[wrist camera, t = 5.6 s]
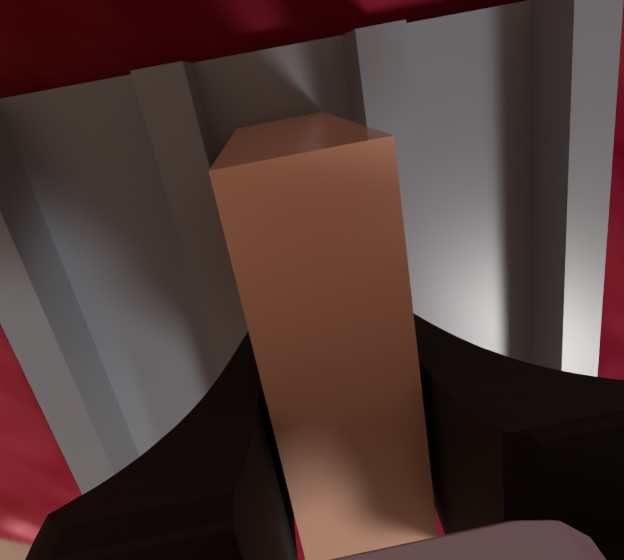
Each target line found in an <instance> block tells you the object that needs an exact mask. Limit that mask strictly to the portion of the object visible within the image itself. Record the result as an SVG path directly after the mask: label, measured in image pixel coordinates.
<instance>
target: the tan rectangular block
mask: <svg viewBox="0 0 624 560" xmlns="http://www.w3.org/2000/svg"><path fill="white" fill-rule="evenodd" d="M209 175H210V179H211V183H212V187H213V191H214V195H215V199H216V203H217V207H218V211H219V215H220V219H221V223H222V227H223V231H224V235H225V239H226V243H227V247H228V251H229V255H230V259H231V263H232V267H233V271H234V275H235V279H236V283H237V287H238V291H239V295H240V299H241V303H242V307H243V311H244V315H245V319H246V323H247V327H248V331H249V335H250V339H251V343H252V347H253V351H254V355H255V359H256V363H257V367H258V371H259V375H260V379H261V383H262V387H263V391H264V395H265V399H266V403H267V407H268V411H269V415H270V419H271V423H272V427H273V431H274V435H275V439H276V443H277V447H278V451H279V455H280V459H281V463H282V467H283V472H284V476H285V480H286V484H287V488H288V492H289V496H290V500H291V504H292V508H293V512H294V516H295V520H296V524H297V528H298V532H299V536H300V540H301V544H302V548H303V552H304V556H305V560H330V559H335V558H339V557H344V556H349V555H353V554H358V553H363V552H367V551H372V550H377V549H381V548H386V547H391V546H395V545H400V544H405V543H409V542H414V541H419V540H423V539H428V538H433V537H437V536H438V532H437V523H436V514H435V505H434V496H433V487H432V478H431V469H430V460H429V450H428V441H427V432H426V423H425V414H424V405H423V396H422V387H421V377H420V368H419V359H418V350H417V341H416V332H415V323H414V314H413V305H412V295H411V286H410V277H409V268H408V259H407V250H406V241H405V232H404V223H403V213H402V204H401V195H400V186H399V177H398V168H397V159H396V150H395V141H394V135H391V134H388V133H385V132H382V131H379V130H376V129H373V128H370V127H367V126H364V125H361V124H358V123H355V122H352V121H349V120H346V119H343V118H340V117H337V116H334V115H331V114H328V113H325V112H318V113H313V114H307V115H302V116H297V117H292V118H286V119H281V120H276V121H270V122H265V123H260V124H255V125H249V126H244V127H239V128H237V129H236V130H235V132H234V133H233V135H232V136H231V138H230V139H229V141H228V142H227V144H226V145H225V147H224V148H223V150H222V151H221V153H220V154H219V156H218V157H217V159H216V160H215V162H214V163H213V165H212V166H211V168H210V169H209Z"/></svg>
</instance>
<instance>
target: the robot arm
mask: <svg viewBox="0 0 624 560" xmlns="http://www.w3.org/2000/svg"><path fill="white" fill-rule="evenodd" d="M413 314H414V313H413ZM414 323H415V332H416V341H417V350H418V359H419V368H420V377H421V387H422V396H423V405H424V414H425V423H426V432H427V441H428V450H429V460H430V469H431V478H432V487H433V496H434V505H435V508H436V511H437V513H438V516H439V519H440V522H441V524H442V527H443V530H444V533H445V535H442V536H437V537H433V538H428V539H423V540H419V541H414V542H409V543H405V544H400V545H395V546H391V547H386V548H381V549H377V550H372V551H367V552H363V553H358V554H353V555H349V556H344V557H339V558H335V559H330V560H624V380H617V379H608V378H601V377H595V376H589V375H582V374H576V373H571V372H566V371H561V370H556V369H551V368H547V367H543V366H539V365H535V364H531V363H527V362H524V361H520V360H517V359H513V358H510V357H507V356H504V355H501V354H499V353H496V352H493V351H490V350H487V349H484V348H482V347H479V346H477V345H474V344H472V343H470V342H468V341H466V340H463V339H461V338H459V337H457V336H455V335H453V334H451V333H449V332H447V331H445V330H443V329H441V328H439V327H437V326H435V325H433V324H431V323H430V322H428V321H426V320H424V319H423V318H421V317H419V316H417V315H416V314H414ZM25 560H298V558H297V548H296V539H295V529H294V512H293V508H292V504H291V500H290V496H289V492H288V488H287V484H286V480H285V476H284V472H283V467H282V463H281V459H280V455H279V451H278V447H277V443H276V439H275V435H274V431H273V427H272V423H271V419H270V415H269V411H268V407H267V403H266V399H265V395H264V391H263V387H262V383H261V379H260V375H259V371H258V367H257V363H256V359H255V355H254V351H253V347H252V343H251V339H250V335H249V331H248V332H247V334H246V335H245V336H244V338H243V340H242V341H241V343H240V344H239V346H238V348H237V349H236V351H235V353H234V354H233V356H232V358H231V359H230V361H229V362H228V364H227V365H226V367H225V368H224V370H223V371H222V373H221V374H220V376H219V377H218V378H217V380H216V381H215V382H214V384H213V385H212V386H211V388H210V389H209V390H208V392H207V393H206V394H205V395H204V397H203V398H202V399H201V400H200V401H199V402H198V404H197V405H196V406H195V407H194V408H193V409H192V410H191V411H190V412H189V413H188V414H187V415H186V416H185V417H184V418H183V419H182V420H181V421H180V422H179V423H178V424H177V425H176V426H175V427H174V428H173V429H172V430H171V431H170V432H168V433H167V434H166V435H165V436H164V437H163V438H161V439H160V440H159V441H158V442H157V443H156V444H154V445H153V446H152V447H151V448H150V449H149V450H147V451H146V452H145V453H144V454H142V455H141V456H140V457H138V458H137V459H136V460H134V461H133V462H132V463H130V464H129V465H128V466H126V467H125V468H123V469H122V470H120V471H119V472H118V473H116V474H115V475H113V476H112V477H110V478H109V479H107V480H106V481H104V482H103V483H101V484H100V485H98V486H96V487H95V488H93V489H91V490H90V491H88V492H86V493H85V494H83V495H81V496H79V497H78V498H76V499H74V500H73V501H71V502H69V503H68V504H66V505H64V506H63V507H61V508H59V509H57V510H55V511H54V512H52V513H50V514H48V516H47V518H46V519H45V521H44V523H43V525H42V527H41V529H40V531H39V532H38V534H37V536H36V538H35V540H34V542H33V544H32V546H31V548H30V551H29V553H28V555H27V557H26V559H25Z"/></svg>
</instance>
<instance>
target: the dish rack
mask: <svg viewBox="0 0 624 560" xmlns="http://www.w3.org/2000/svg"><path fill="white" fill-rule="evenodd" d="M622 13H623V0H528V1H522V2H517V3H512V4H506V5H501V6H495V7H490V8H485V9H479V10H474V11H469V12H463V13H458V14H452V15H447V16H442V17H436V18H431V19H426V20H420V21H415V22H409V23H406V20H400V21H395V22H389V23H384V24H379V25H373V26H368V27H362V28H357V29H354V30H352V31H349V32H347V33H345V34H343V35H339V36H334V37H329V38H323V39H318V40H313V41H307V42H302V43H296V44H291V45H286V46H280V47H275V48H270V49H264V50H259V51H253V52H248V53H243V54H237V55H232V56H227V57H221V58H216V59H210V60H205V61H200V62H194V63H192V62H186V61H179V62H174V63H169V64H163V65H158V66H153V67H147V68H142V69H136V70H131V71H130V72H131V74H130V75H124V76H119V77H114V78H108V79H103V80H97V81H92V82H87V83H81V84H76V85H71V86H65V87H60V88H54V89H49V90H44V91H38V92H33V93H28V94H22V95H17V96H11V97H6V98H1V99H0V323H1V326H2V328H3V330H4V332H5V334H6V336H7V338H8V340H9V342H10V344H11V346H12V349H13V351H14V353H15V355H16V357H17V359H18V361H19V363H20V365H21V367H22V369H23V371H24V374H25V376H26V378H27V380H28V382H29V384H30V386H31V388H32V390H33V392H34V394H35V397H36V399H37V401H38V403H39V405H40V407H41V409H42V411H43V413H44V415H45V417H46V420H47V422H48V424H49V426H50V428H51V430H52V432H53V434H54V436H55V438H56V440H57V442H58V445H59V447H60V449H61V451H62V453H63V455H64V457H65V459H66V461H67V463H68V465H69V468H70V470H71V472H72V474H73V476H74V478H75V480H76V482H77V484H78V486H79V488H80V491H81V493H82V495H83V494H85V493H86V492H88V491H90V490H91V489H93V488H95V487H96V486H98V485H100V484H101V483H103V482H104V481H106V480H107V479H109V478H110V477H112V476H113V475H115V474H116V473H118V472H119V471H120V470H122V469H123V468H125V467H126V466H128V465H129V464H130V463H132V462H133V461H134V460H136V459H137V458H138V457H140V456H141V455H142V454H144V453H145V452H146V451H147V450H149V449H150V448H151V447H152V446H153V445H154V444H156V443H157V442H158V441H159V440H160V439H161V438H163V437H164V436H165V435H166V434H167V433H168V432H170V431H171V430H172V429H173V428H174V427H175V426H176V425H177V424H178V423H179V422H180V421H181V420H182V419H183V418H184V417H185V416H186V415H187V414H188V413H189V412H190V411H191V410H192V409H193V408H194V407H195V406H196V405H197V404H198V402H199V401H200V400H201V399H202V398H203V397H204V395H205V394H206V393H207V392H208V390H209V389H210V388H211V386H212V385H213V384H214V382H215V381H216V380H217V378H218V377H219V376H220V374H221V373H222V371H223V370H224V368H225V367H226V365H227V364H228V362H229V361H230V359H231V358H232V356H233V354H234V353H235V351H236V349H237V348H238V346H239V344H240V343H241V341H242V340H243V338H244V336H245V335H246V334H247V332H248V327H247V323H246V319H245V315H244V311H243V307H242V303H241V299H240V295H239V291H238V287H237V283H236V279H235V275H234V271H233V267H232V263H231V259H230V255H229V251H228V247H227V243H226V239H225V235H224V231H223V227H222V223H221V219H220V215H219V211H218V207H217V203H216V199H215V195H214V191H213V187H212V183H211V179H210V175H209V169H210V168H211V166H212V165H213V163H214V162H215V160H216V159H217V157H218V156H219V154H220V153H221V151H222V150H223V148H224V147H225V145H226V144H227V142H228V141H229V139H230V138H231V136H232V135H233V133H234V132H235V130H236V129H237V128H239V127H244V126H249V125H255V124H260V123H265V122H270V121H276V120H281V119H286V118H292V117H297V116H302V115H307V114H313V113H318V112H325V113H328V114H331V115H334V116H337V117H340V118H343V119H346V120H349V121H352V122H355V123H358V124H361V125H364V126H367V127H370V128H373V129H376V130H379V131H382V132H385V133H388V134H391V135H394V141H395V150H396V159H397V168H398V177H399V186H400V195H401V204H402V213H403V223H404V232H405V241H406V250H407V259H408V268H409V277H410V286H411V295H412V305H413V313H414V314H416V315H417V316H419V317H421V318H423V319H424V320H426V321H428V322H430V323H431V324H433V325H435V326H437V327H439V328H441V329H443V330H445V331H447V332H449V333H451V334H453V335H455V336H457V337H459V338H461V339H463V340H466V341H468V342H470V343H472V344H474V345H477V346H479V347H482V348H484V349H487V350H490V351H493V352H496V353H499V354H501V355H504V356H507V357H510V358H513V359H517V360H520V361H524V362H527V363H531V364H535V365H539V366H543V367H547V368H551V369H556V370H561V371H566V372H571V373H576V374H582V375H589V376H595V377H597V374H598V360H599V346H600V331H601V317H602V302H603V288H604V273H605V259H606V245H607V230H608V216H609V201H610V187H611V172H612V158H613V143H614V129H615V115H616V100H617V86H618V71H619V57H620V42H621V28H622Z"/></svg>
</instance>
